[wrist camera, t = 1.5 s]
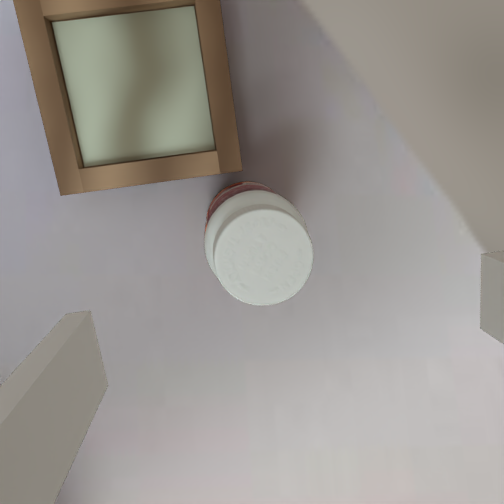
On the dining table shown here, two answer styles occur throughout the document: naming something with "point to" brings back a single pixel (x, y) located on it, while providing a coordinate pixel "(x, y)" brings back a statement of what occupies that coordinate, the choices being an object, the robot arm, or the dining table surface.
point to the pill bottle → (257, 244)
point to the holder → (131, 90)
